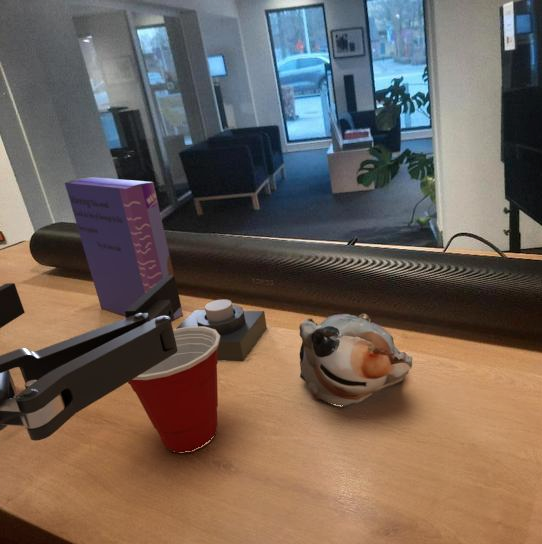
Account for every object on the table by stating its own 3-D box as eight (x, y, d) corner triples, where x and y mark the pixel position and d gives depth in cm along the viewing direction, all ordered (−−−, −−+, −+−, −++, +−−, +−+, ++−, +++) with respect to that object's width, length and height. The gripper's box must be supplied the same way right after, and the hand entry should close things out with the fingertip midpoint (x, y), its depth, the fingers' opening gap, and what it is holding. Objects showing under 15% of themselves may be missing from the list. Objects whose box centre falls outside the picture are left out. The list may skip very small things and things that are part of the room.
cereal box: (183, 315, 87) (152, 180, 79) (160, 327, 84) (125, 187, 75) (124, 298, 96) (91, 175, 87) (101, 308, 93) (64, 181, 84)
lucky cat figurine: (419, 362, 68) (435, 302, 58) (387, 440, 61) (399, 388, 50) (321, 323, 71) (319, 260, 61) (280, 393, 64) (270, 335, 54)
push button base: (167, 358, 74) (160, 329, 72) (199, 326, 83) (193, 299, 81) (243, 361, 72) (237, 331, 70) (267, 328, 81) (262, 300, 79)
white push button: (202, 322, 74) (200, 310, 73) (214, 310, 78) (211, 299, 77) (227, 323, 73) (225, 310, 73) (238, 311, 77) (236, 299, 76)
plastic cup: (189, 399, 64) (169, 316, 59) (256, 418, 59) (240, 330, 55) (118, 454, 55) (89, 362, 51) (190, 483, 50) (165, 383, 46)
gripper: (-392, 562, 23) (-32, 340, 43) (116, 561, 21) (248, 329, 41) (-505, 432, 21) (-65, 259, 40) (67, 418, 19) (233, 243, 38)
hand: (93, 294), depth 41 cm, fingers open, 13 cm apart
